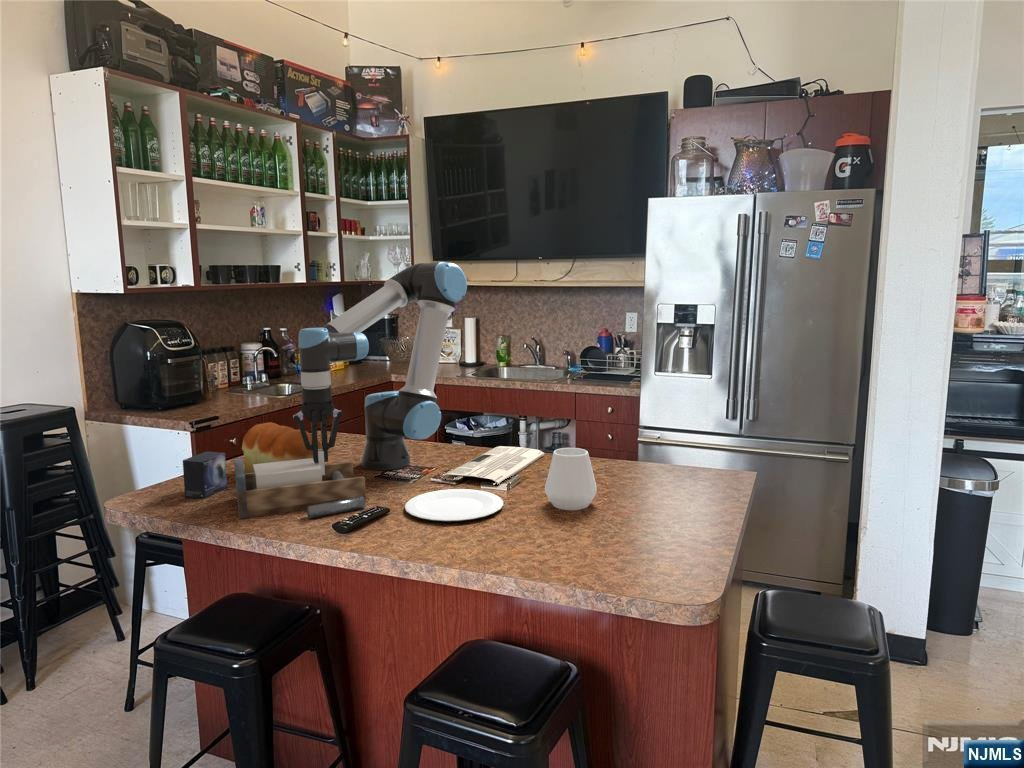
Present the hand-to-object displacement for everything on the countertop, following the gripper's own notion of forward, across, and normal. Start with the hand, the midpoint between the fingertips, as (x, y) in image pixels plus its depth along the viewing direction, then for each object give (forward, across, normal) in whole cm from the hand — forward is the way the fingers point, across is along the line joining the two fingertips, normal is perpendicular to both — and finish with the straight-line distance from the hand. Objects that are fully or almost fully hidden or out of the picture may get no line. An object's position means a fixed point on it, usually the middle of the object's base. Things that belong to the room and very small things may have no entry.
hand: (321, 473), depth 185 cm
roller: (+6, -1, +15) cm, 16 cm away
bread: (+7, +8, -27) cm, 29 cm away
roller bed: (+6, +6, 0) cm, 9 cm away
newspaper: (+7, -54, -7) cm, 55 cm away
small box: (+7, +29, -18) cm, 35 cm away
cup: (+7, -57, +34) cm, 67 cm away
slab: (+1, +9, 0) cm, 9 cm away
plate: (+7, -29, +24) cm, 38 cm away
